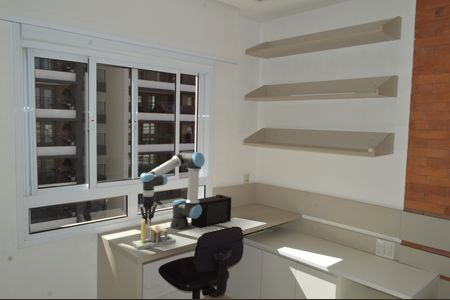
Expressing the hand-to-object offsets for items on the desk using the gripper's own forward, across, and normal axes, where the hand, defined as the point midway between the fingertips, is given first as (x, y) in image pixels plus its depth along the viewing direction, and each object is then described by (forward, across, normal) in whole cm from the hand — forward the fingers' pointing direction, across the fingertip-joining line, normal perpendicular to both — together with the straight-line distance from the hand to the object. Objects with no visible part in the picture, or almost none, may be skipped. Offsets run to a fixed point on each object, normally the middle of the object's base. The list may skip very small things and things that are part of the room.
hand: (147, 228), depth 243 cm
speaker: (+12, -69, -23) cm, 74 cm away
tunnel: (+10, -8, 0) cm, 13 cm away
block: (+9, -6, 0) cm, 11 cm away
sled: (+10, -3, 0) cm, 10 cm away
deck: (+12, -5, 0) cm, 13 cm away
